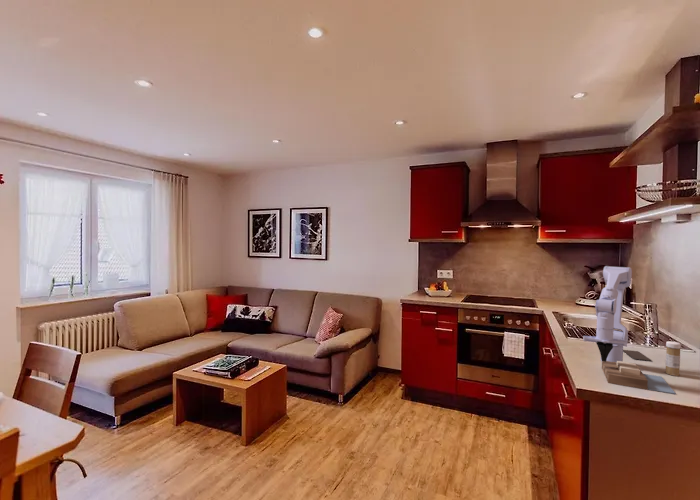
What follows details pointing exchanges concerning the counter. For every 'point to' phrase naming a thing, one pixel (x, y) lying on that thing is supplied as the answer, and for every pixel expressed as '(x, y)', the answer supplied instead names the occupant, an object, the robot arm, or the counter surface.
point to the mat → (658, 384)
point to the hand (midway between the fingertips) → (603, 360)
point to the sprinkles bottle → (673, 358)
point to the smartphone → (636, 355)
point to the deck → (623, 376)
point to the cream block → (628, 368)
